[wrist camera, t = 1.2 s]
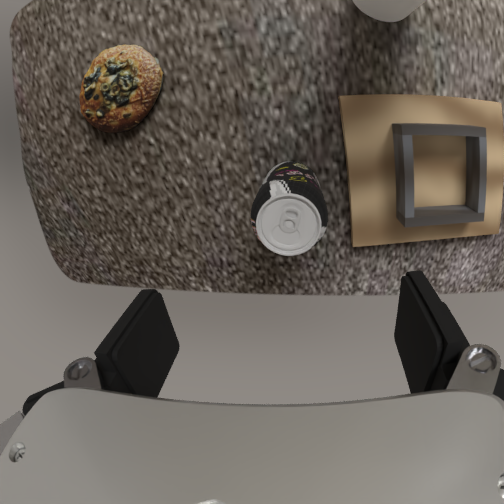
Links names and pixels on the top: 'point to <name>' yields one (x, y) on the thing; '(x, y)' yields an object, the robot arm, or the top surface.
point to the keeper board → (422, 167)
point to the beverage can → (289, 210)
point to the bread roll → (120, 88)
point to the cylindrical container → (388, 8)
